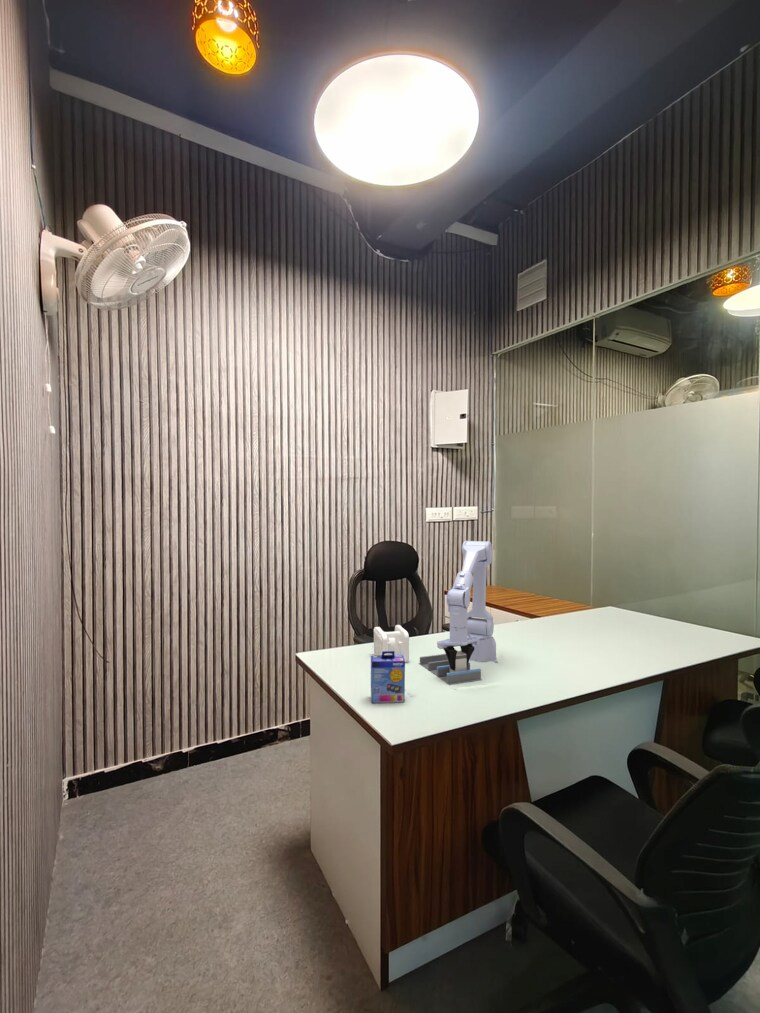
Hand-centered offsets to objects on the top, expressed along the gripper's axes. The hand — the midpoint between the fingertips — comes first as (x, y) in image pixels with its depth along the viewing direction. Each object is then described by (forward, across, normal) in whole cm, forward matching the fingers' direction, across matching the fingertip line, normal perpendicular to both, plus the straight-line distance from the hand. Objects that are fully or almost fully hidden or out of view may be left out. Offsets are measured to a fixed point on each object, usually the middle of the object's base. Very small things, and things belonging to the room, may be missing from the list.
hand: (458, 668), depth 147 cm
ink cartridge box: (+4, -27, -6) cm, 28 cm away
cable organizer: (+4, -13, +26) cm, 30 cm away
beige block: (+2, 0, 0) cm, 2 cm away
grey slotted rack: (+4, 0, +6) cm, 7 cm away
